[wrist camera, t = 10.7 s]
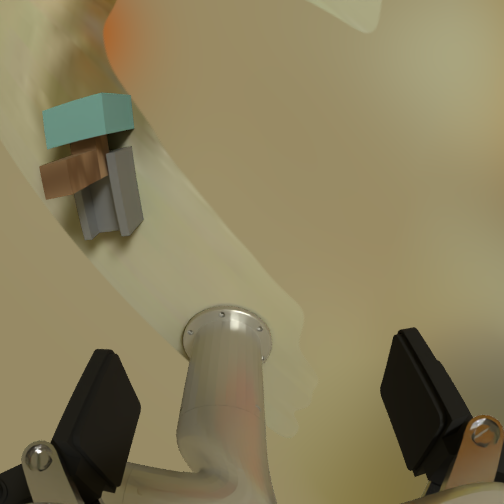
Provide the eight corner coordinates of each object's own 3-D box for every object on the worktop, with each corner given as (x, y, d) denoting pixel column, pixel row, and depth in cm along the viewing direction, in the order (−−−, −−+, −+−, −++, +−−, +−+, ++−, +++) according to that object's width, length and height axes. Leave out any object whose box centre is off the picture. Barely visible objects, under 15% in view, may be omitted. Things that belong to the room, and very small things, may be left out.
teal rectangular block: (134, 128, 33) (106, 134, 25) (82, 140, 33) (47, 149, 26) (130, 95, 31) (101, 92, 24) (78, 108, 31) (42, 111, 24)
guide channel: (143, 219, 37) (129, 235, 33) (102, 224, 37) (84, 240, 33) (131, 146, 34) (114, 152, 29) (88, 154, 34) (67, 162, 29)
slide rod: (112, 172, 31) (72, 194, 23) (89, 176, 31) (46, 199, 23) (103, 109, 28) (59, 112, 20) (80, 116, 29) (32, 122, 20)
